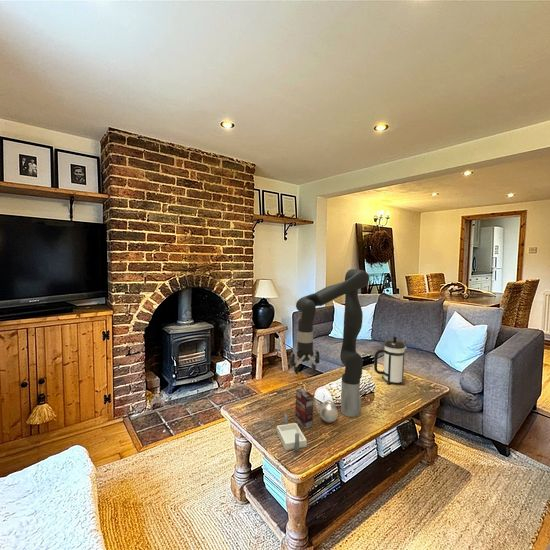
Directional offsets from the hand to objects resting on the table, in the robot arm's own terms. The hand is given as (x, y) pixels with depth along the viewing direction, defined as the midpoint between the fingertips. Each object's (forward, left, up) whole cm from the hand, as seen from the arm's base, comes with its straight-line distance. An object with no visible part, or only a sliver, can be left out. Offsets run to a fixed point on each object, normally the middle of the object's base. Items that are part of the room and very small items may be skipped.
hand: (304, 372), depth 146 cm
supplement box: (0, 0, -26) cm, 26 cm away
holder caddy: (+10, +10, -26) cm, 29 cm away
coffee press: (-72, -30, -26) cm, 82 cm away
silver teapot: (-13, +1, -26) cm, 29 cm away
